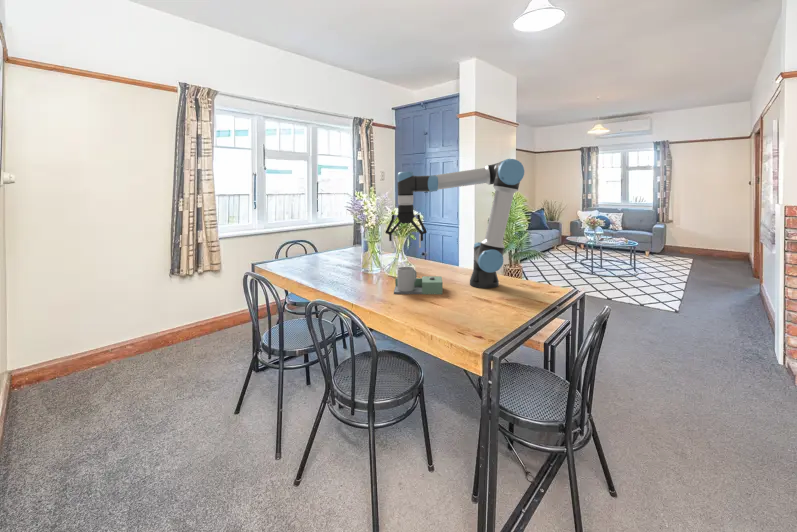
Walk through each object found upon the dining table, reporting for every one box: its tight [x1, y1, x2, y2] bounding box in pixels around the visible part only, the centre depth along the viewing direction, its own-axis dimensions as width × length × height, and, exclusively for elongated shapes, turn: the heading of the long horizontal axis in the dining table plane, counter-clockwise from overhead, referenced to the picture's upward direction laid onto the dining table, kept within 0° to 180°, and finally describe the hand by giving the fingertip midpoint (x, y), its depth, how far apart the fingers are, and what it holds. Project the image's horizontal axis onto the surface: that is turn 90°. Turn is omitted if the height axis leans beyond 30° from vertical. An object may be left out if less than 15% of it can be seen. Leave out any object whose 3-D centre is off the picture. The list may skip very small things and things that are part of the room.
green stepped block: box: [393, 275, 444, 295], centre depth 198 cm, size 24×13×7 cm, turn 86°
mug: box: [397, 266, 418, 292], centre depth 197 cm, size 12×8×11 cm
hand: (406, 247), depth 194 cm, fingers open, 13 cm apart
